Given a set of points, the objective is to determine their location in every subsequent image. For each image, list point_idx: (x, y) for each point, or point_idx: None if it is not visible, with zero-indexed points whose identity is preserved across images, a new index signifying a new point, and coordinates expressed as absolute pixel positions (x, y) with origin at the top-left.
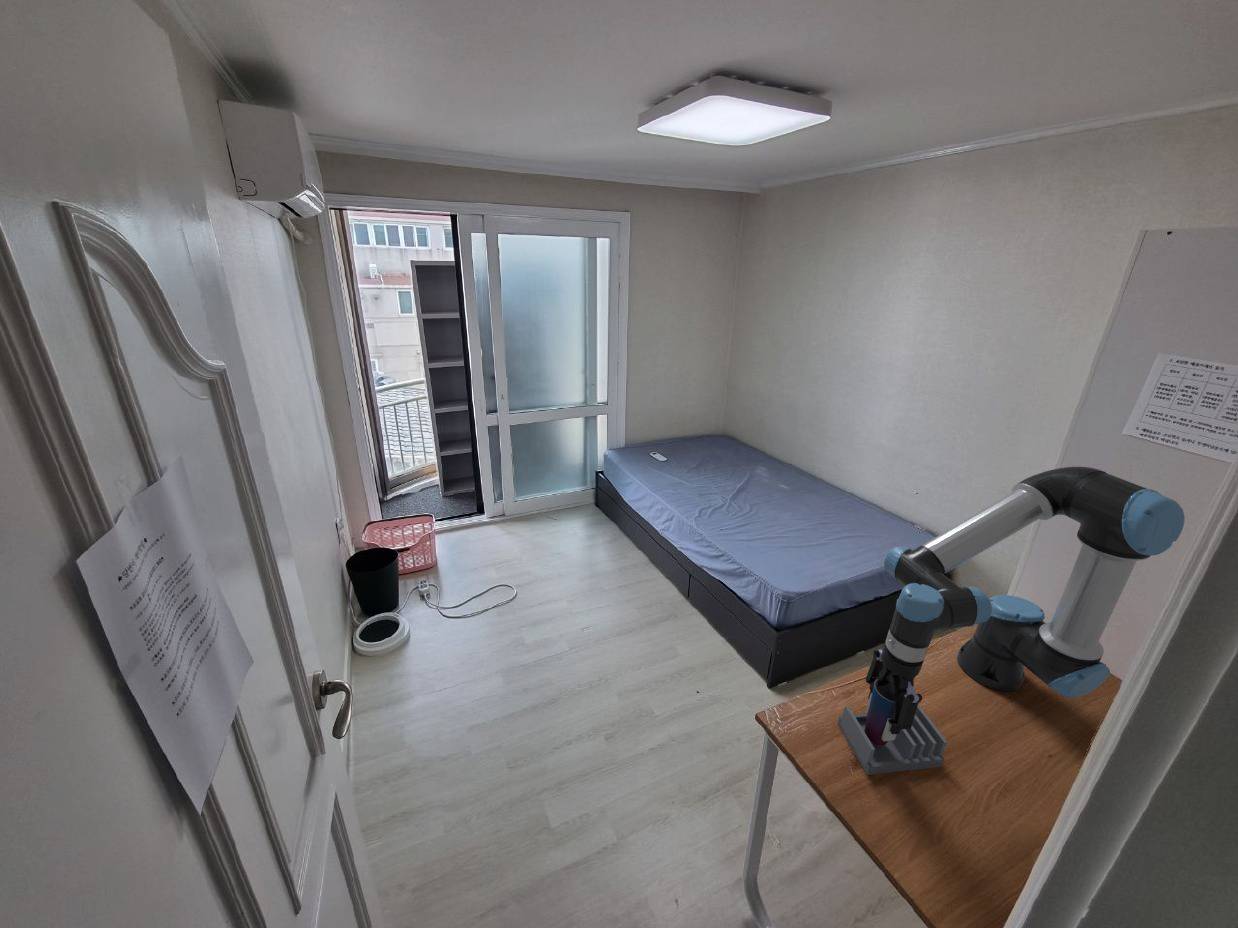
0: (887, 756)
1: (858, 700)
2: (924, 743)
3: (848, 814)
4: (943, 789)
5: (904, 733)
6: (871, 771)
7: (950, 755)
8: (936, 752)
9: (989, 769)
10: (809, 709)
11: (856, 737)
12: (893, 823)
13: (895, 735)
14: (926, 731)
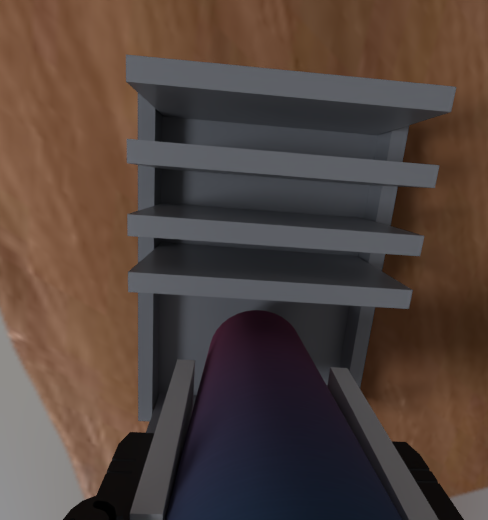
0: (314, 319)
1: (53, 258)
2: (417, 239)
3: None
4: (453, 186)
5: (334, 303)
6: None
7: (355, 37)
8: (375, 129)
9: None
10: (85, 450)
11: None
12: (477, 408)
13: (360, 394)
14: (359, 168)
